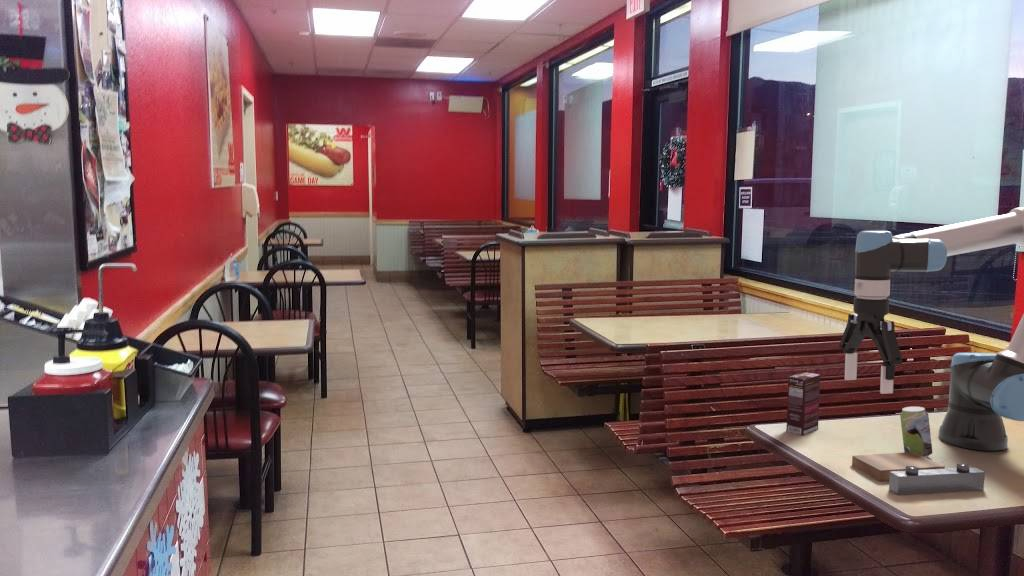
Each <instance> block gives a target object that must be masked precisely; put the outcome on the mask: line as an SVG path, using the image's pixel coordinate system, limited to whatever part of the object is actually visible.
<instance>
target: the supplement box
mask: <svg viewBox="0 0 1024 576" xmlns="http://www.w3.org/2000/svg"><path fill="white" fill-rule="evenodd" d="M787 382H788V383H787V384H788V385H787V404H786V405H787V407H786V410H787V411H786V429H785V430H786V432H788V433H791V434H792V433H793V434H796V435H800V436H805V435H808V434H810V433H812V432H816V431H818V430H819V421H820V420H819V418H820V417H819V416H820V414H819V412H820V391H821V390H820V389H821V385H820V384H821V374H820V373H813V372H806V371H804V372H801V373H797V374H793V375H789V376H788V381H787Z"/></svg>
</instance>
